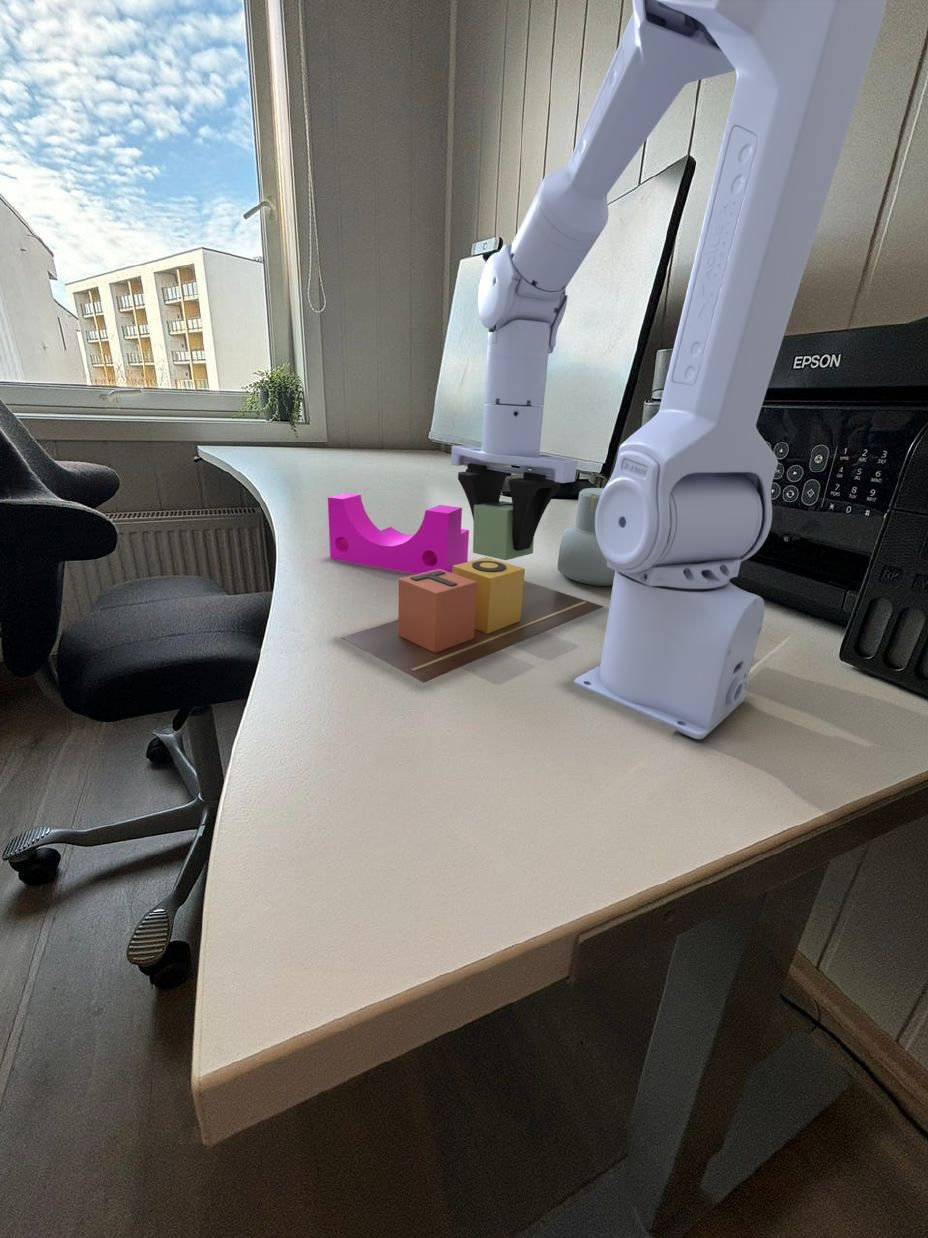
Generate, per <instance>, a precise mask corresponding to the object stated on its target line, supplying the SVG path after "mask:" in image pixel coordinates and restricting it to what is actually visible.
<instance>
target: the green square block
mask: <svg viewBox="0 0 928 1238" xmlns="http://www.w3.org/2000/svg"><path fill="white" fill-rule="evenodd" d="M472 530H473V533H472V553H473V554H477V555H481V556H485V557H488V558H492V559H497V560H501V561H508V560H513V559H516V558H520V557H524V556H528V555H532V554H534V543H535V542H534V541H535V537H534V538H533V541H532V544H531V547H530V548H529V549H524V550H520V551H517V550H514V547H513V539H512V535H513V505H512V501H505V500H499V501H498V502H492V503H485V504H478V505H474V521H473V529H472Z"/></svg>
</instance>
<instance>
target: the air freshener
mask: <svg viewBox="0 0 928 1238" xmlns="http://www.w3.org/2000/svg"><path fill="white" fill-rule="evenodd" d="M604 488H605V487H604ZM604 488H603V487H589V488H583V489H581V490H580V491H579V492H578V499H577V506H576V514H575V521H574V525H573V526H570V527H568V528H566V529H564V530H563V532H562V535H561V539H560V545H559V551H558V557H557V571H558V572H559V573H560V574H562V575H563V576H565V577H566V578H568V579H570V580H572V581H574V582H577V583H579V584H580V583H581V584H585V585H588V586H589V585H590V586H597V587H610V586H611V587H613V582H614V575H615V570H613V569H611V568H609V567H607V560H606V558H605V557H604V555H603V553H602V551H601V549H600V546H599V544H598V541H597V537H596V532H595V514H596V508H597V505H598V502H599V499H600V496H601V494H602V491H603V489H604Z"/></svg>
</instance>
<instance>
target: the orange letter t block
mask: <svg viewBox="0 0 928 1238" xmlns="http://www.w3.org/2000/svg"><path fill="white" fill-rule="evenodd" d="M476 598H477V582H476V581H473V580H470V579H468V578H465V577H462V576H459V575H456V574H453V573H450V572H447V571H444V570H441V569H436V570H432V571H428V572H424V573H420V574H418V573H415V574H412V575H407V576H404V577H400V578H398V613H397V615H398V616H397V617H398V618H397V620H398V635H399V636H401V637H403V638H405V639H407V640H409V641H411V642H413V643H415V644H417V645H419V646H421V647H423V648H425V649H427V650H429V651H431V652H434V653H437V652H440V651H442V650H445V649H447V648H450V647H453V646H455V645H458V644H461V643H463V642H466V641H468V640H471V639H474V631H475V614H476Z"/></svg>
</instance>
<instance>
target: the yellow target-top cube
mask: <svg viewBox="0 0 928 1238" xmlns="http://www.w3.org/2000/svg"><path fill="white" fill-rule="evenodd" d="M525 572H526V568H524V567H522V566H521V567H520V566H518V565H514V564H511V563H508V562H504V561H502V560H499V559H495V558H492V557H489V556H485V557H483V558H479V559H475V560H474V559H473V560H469V561H467V562H466V563H462V564H457V565H453V570H452V573H453V574H456V575H459V576H462V577H465V578H468V579H470V580H473V581H476V582H477V598H476V614H475V629H477V630H479V631H481V632H484V633H486V634H488V633H491V632H493V631H496V630H499V629H501V628H504V627H506V626H509V625H512V624H514V623H517V622H519V621H520V616H521V605H522V595H523V584H524V581H525Z"/></svg>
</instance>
